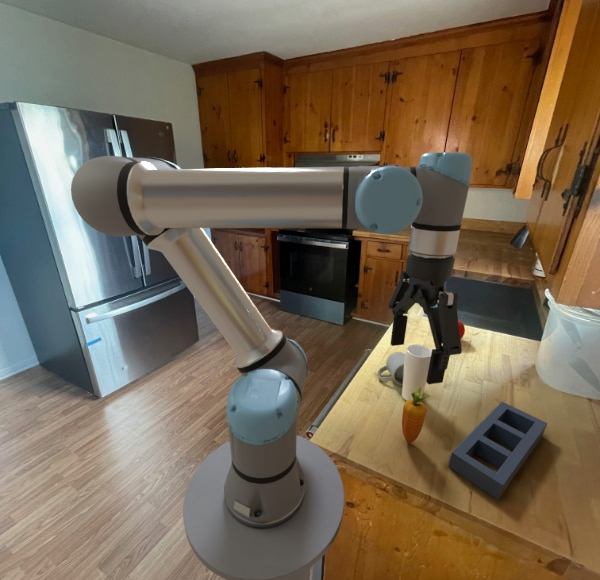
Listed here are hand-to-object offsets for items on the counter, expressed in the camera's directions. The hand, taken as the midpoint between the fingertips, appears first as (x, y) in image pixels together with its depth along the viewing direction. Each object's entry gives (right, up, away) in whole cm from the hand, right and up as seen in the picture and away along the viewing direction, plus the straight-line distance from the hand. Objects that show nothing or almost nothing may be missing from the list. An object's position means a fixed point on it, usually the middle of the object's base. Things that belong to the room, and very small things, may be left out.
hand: (413, 361), depth 63 cm
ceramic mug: (+7, -12, +36) cm, 38 cm away
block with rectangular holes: (+23, -22, +11) cm, 34 cm away
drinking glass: (+9, -15, +28) cm, 33 cm away
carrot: (+3, -21, +13) cm, 25 cm away
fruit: (+33, -3, +59) cm, 68 cm away
